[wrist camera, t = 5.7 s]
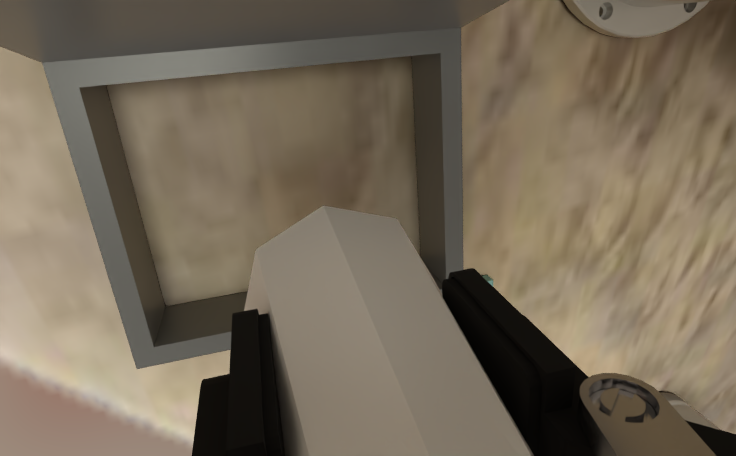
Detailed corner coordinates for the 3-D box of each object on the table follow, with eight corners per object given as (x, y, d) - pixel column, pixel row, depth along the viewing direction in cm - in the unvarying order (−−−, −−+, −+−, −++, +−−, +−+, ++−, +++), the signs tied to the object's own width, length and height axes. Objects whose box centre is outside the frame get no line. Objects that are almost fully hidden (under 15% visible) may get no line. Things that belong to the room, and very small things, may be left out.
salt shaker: (200, 325, 13) (56, 1259, 3) (314, 162, 12) (641, 690, 2) (357, 398, 15) (580, 1087, 5) (463, 262, 14) (977, 765, 4)
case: (428, 31, 25) (460, 27, 22) (436, 270, 30) (463, 300, 27) (74, 61, 22) (42, 62, 18) (150, 326, 27) (136, 369, 23)
